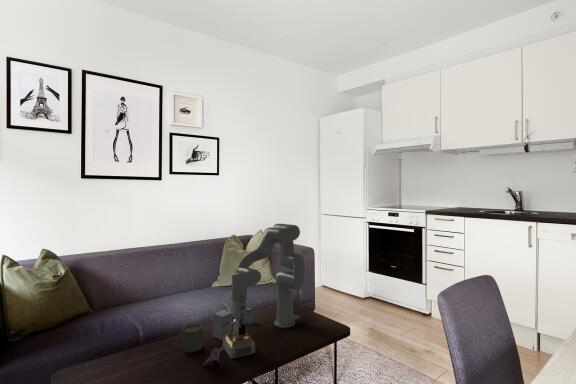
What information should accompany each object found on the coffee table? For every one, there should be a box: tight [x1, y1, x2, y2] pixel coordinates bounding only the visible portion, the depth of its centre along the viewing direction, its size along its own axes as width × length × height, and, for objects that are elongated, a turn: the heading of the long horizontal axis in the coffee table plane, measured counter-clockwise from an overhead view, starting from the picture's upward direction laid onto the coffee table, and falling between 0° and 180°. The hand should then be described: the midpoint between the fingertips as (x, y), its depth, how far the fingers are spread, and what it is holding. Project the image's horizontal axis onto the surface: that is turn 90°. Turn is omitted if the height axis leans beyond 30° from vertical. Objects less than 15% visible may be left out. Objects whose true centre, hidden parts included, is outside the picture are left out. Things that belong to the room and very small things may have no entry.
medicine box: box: [246, 306, 254, 326], centre depth 197 cm, size 8×4×9 cm, turn 62°
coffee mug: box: [181, 323, 204, 353], centre depth 167 cm, size 13×10×10 cm
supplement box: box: [212, 309, 233, 341], centre depth 178 cm, size 7×7×13 cm
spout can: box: [230, 319, 244, 341], centre depth 163 cm, size 8×6×10 cm
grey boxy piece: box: [222, 331, 256, 360], centre depth 163 cm, size 12×14×6 cm
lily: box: [202, 345, 225, 368], centre depth 148 cm, size 12×12×10 cm
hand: (238, 330), depth 164 cm, fingers open, 9 cm apart
